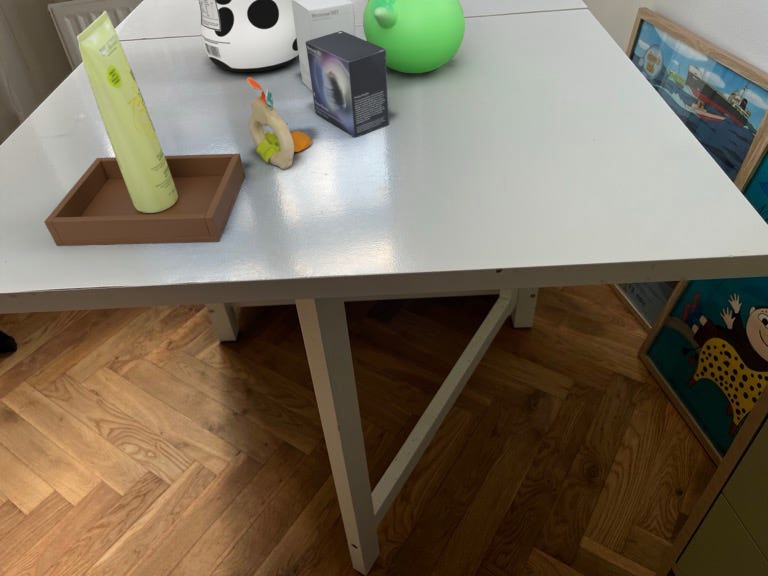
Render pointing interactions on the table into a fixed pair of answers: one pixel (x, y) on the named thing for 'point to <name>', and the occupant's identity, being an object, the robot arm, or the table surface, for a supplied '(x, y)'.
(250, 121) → the rattle
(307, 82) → the white packaging box
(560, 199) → the table surface
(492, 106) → the table surface
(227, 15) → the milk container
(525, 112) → the table surface
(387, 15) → the toy bird
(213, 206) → the tray
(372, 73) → the small box
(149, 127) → the tube
